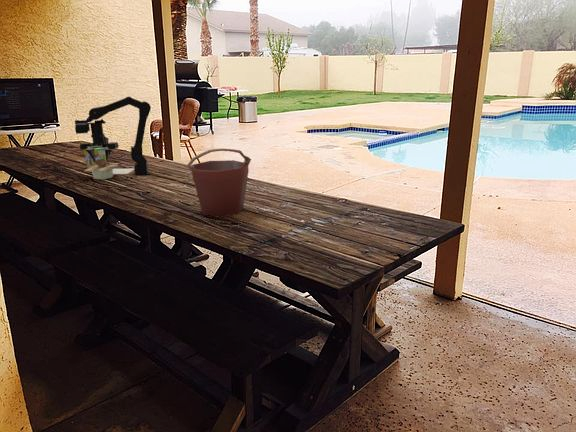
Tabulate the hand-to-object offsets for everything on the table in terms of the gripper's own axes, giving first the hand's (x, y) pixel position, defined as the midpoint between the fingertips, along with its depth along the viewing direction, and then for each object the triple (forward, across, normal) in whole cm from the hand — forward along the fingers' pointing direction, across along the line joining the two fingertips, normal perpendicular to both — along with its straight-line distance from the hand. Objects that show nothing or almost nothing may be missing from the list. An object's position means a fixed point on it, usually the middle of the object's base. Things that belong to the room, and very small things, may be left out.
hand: (101, 162), depth 257 cm
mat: (+8, -3, -15) cm, 18 cm away
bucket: (+9, -74, +67) cm, 100 cm away
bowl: (+8, 0, 0) cm, 8 cm away
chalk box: (+9, +15, -29) cm, 34 cm away
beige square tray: (+4, 0, 0) cm, 4 cm away
